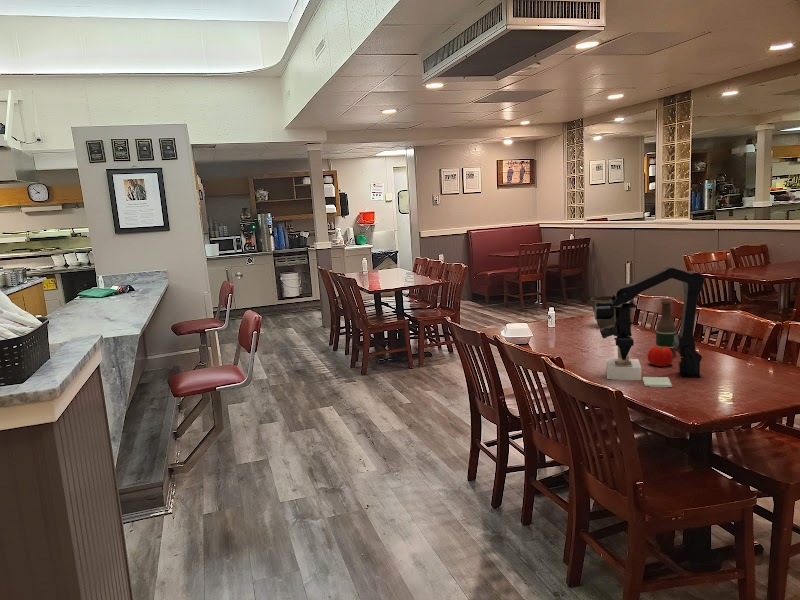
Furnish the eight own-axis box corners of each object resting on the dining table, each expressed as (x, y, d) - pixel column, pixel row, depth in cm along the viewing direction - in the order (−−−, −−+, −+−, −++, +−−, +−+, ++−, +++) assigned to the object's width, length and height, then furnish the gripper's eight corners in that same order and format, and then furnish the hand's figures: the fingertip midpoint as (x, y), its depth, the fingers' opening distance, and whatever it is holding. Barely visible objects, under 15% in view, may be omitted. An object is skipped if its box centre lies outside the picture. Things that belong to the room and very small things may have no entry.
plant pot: (603, 332, 293) (603, 301, 291) (585, 327, 307) (585, 298, 304) (627, 328, 298) (627, 298, 295) (608, 323, 312) (608, 295, 309)
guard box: (638, 371, 225) (638, 358, 224) (641, 380, 213) (641, 367, 212) (606, 370, 228) (606, 358, 227) (607, 379, 217) (607, 366, 216)
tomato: (670, 362, 234) (671, 344, 233) (674, 368, 226) (674, 350, 224) (646, 361, 237) (646, 344, 236) (648, 367, 228) (648, 349, 227)
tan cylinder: (628, 366, 222) (628, 342, 220) (629, 369, 218) (629, 344, 216) (617, 366, 223) (617, 342, 221) (618, 369, 219) (617, 344, 217)
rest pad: (668, 380, 212) (668, 377, 212) (671, 387, 203) (671, 385, 203) (642, 379, 215) (642, 376, 214) (644, 386, 206) (644, 384, 206)
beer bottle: (655, 357, 241) (655, 302, 238) (656, 353, 248) (656, 299, 244) (675, 358, 238) (676, 302, 234) (676, 354, 245) (676, 299, 241)
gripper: (600, 314, 228) (600, 351, 231) (601, 324, 211) (602, 364, 213) (629, 314, 225) (629, 352, 227) (633, 324, 207) (633, 365, 210)
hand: (623, 358), depth 220 cm, fingers closed on tan cylinder, 4 cm apart
